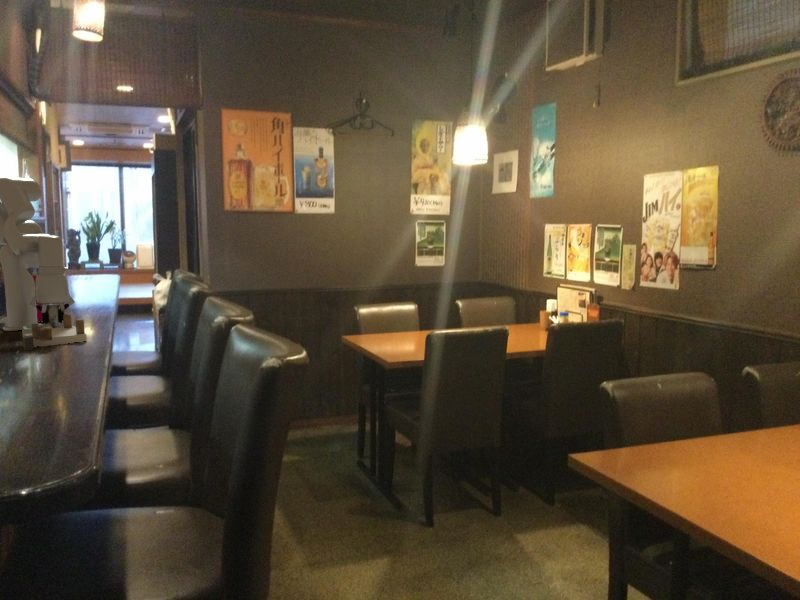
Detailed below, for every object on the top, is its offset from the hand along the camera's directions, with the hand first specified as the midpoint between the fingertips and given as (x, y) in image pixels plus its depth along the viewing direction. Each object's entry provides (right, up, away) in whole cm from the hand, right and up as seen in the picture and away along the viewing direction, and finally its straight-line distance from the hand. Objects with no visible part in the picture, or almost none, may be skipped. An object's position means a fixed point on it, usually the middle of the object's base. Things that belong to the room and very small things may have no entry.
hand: (53, 322), depth 225 cm
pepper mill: (-22, -1, +29) cm, 37 cm away
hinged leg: (+12, -4, -28) cm, 31 cm away
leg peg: (0, -2, 0) cm, 2 cm away
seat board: (+9, -6, -17) cm, 19 cm away
